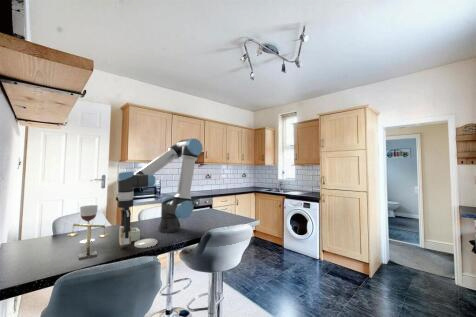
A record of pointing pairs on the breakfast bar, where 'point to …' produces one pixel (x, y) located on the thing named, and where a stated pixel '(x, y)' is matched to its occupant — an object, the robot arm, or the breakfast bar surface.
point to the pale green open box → (135, 234)
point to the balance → (88, 240)
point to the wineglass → (88, 215)
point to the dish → (145, 243)
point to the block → (121, 235)
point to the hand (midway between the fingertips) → (125, 242)
